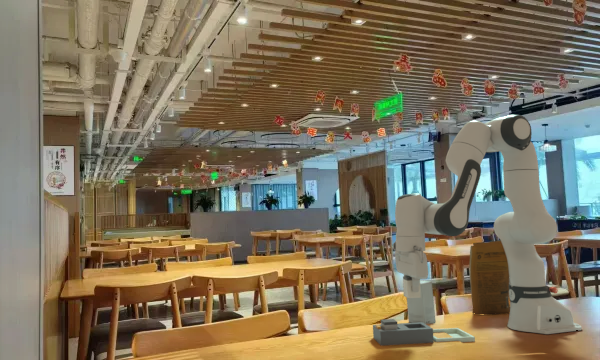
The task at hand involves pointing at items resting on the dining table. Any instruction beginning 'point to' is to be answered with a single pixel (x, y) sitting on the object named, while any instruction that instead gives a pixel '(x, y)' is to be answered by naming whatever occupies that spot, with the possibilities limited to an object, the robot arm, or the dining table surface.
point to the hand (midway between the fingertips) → (412, 290)
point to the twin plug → (389, 324)
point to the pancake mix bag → (489, 278)
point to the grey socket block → (404, 334)
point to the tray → (454, 335)
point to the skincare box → (422, 305)
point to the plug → (407, 288)
